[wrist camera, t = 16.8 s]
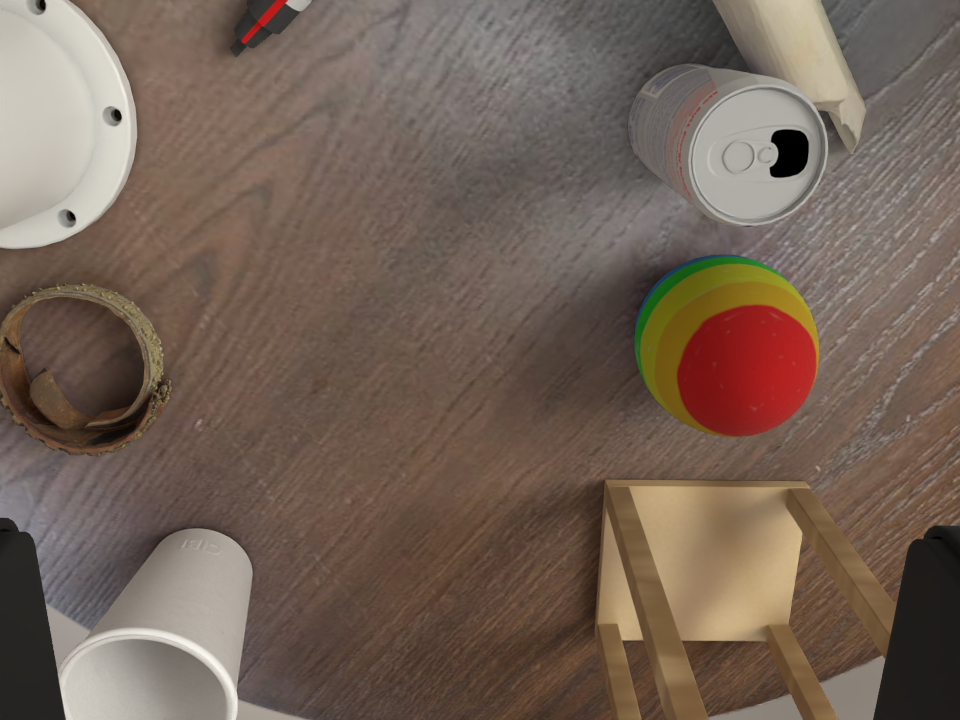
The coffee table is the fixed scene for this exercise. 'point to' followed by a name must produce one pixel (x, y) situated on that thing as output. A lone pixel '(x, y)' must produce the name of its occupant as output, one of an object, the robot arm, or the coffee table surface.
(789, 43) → the beige long tapered piece
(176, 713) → the dixie cup
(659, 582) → the box
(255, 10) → the marker
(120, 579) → the coffee table surface
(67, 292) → the bracelet
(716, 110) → the energy drink
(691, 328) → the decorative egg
